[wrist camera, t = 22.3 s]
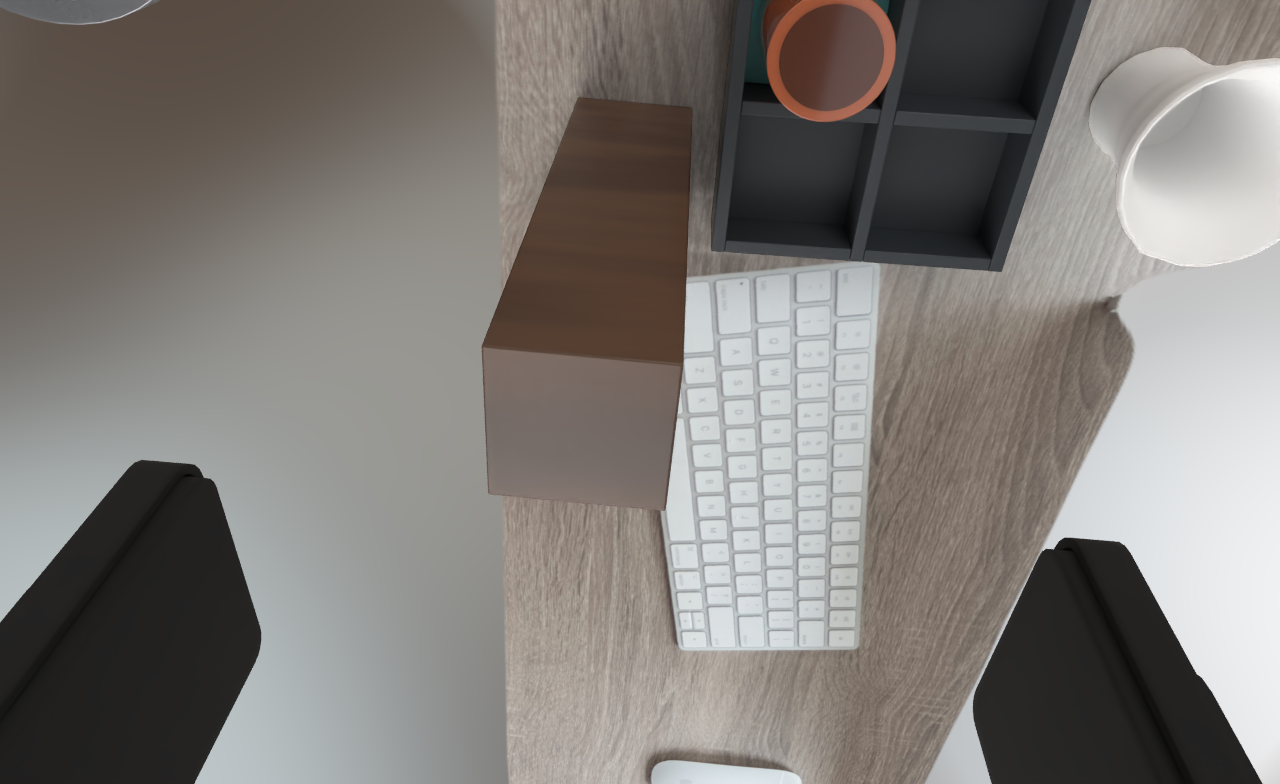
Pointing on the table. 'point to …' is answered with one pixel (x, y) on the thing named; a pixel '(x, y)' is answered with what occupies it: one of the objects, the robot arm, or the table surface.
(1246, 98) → the cup
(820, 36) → the tumbler
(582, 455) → the brown wooden block
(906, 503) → the table surface
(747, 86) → the divided tray
